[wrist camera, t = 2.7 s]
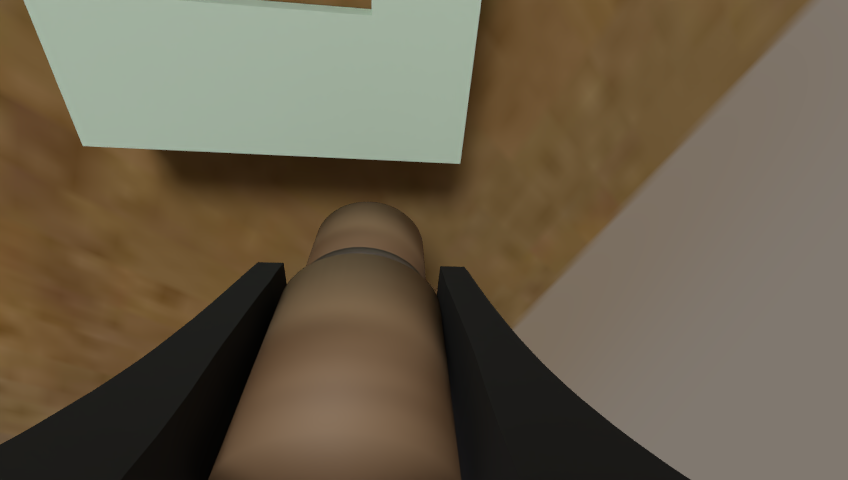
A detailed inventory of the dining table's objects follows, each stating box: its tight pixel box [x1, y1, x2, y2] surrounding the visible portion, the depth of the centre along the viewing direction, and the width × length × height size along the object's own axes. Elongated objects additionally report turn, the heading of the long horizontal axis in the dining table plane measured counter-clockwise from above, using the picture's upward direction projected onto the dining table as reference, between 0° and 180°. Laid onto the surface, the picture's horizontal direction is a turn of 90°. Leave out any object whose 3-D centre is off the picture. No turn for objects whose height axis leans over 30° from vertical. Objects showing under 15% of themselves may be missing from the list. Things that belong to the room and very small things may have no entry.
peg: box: [208, 202, 461, 480], centre depth 9 cm, size 4×4×7 cm
